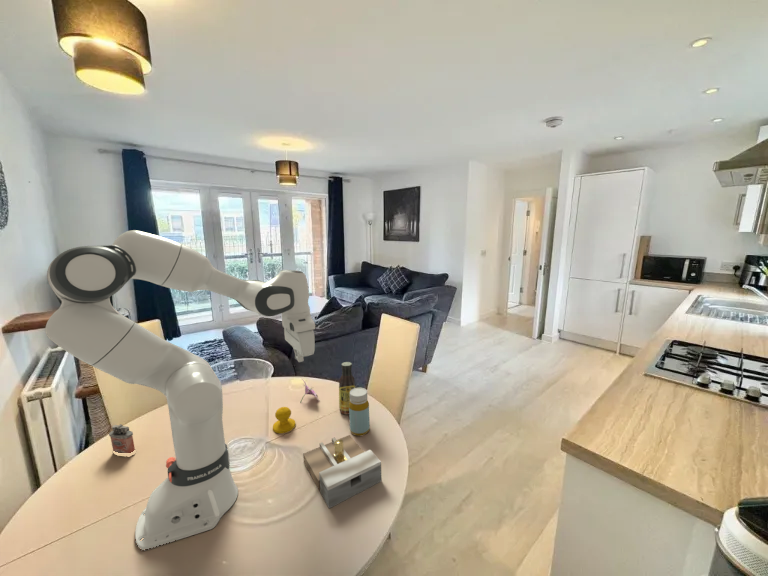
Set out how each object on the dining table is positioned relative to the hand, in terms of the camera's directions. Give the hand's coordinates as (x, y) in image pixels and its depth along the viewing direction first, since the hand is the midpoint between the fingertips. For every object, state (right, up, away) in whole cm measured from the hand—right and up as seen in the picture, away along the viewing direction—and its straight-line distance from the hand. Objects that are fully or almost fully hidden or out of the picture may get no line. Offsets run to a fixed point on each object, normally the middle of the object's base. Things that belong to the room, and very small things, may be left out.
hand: (299, 360), depth 102 cm
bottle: (+19, -28, +10) cm, 35 cm away
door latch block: (+15, -31, -9) cm, 36 cm away
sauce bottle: (+13, -26, +22) cm, 36 cm away
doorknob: (-9, -28, +13) cm, 32 cm away
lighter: (-58, -31, +1) cm, 66 cm away
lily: (-4, -25, +31) cm, 40 cm away
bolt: (+16, -28, -12) cm, 34 cm away
